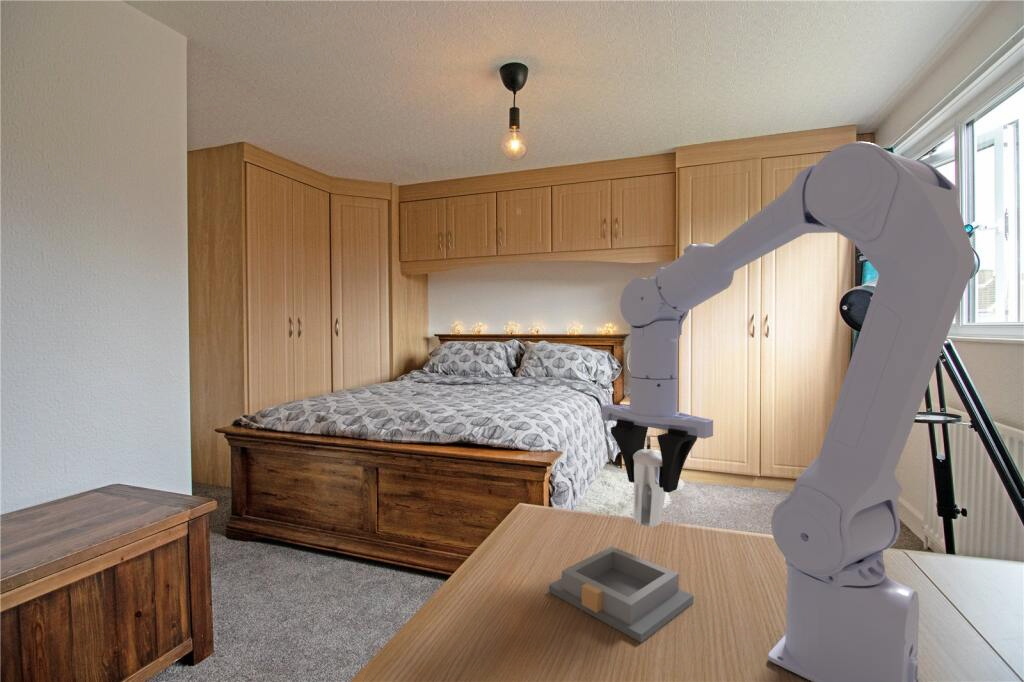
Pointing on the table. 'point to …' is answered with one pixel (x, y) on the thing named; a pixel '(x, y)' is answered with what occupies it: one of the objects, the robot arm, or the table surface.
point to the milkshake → (648, 486)
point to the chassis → (623, 592)
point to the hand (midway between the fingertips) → (652, 485)
